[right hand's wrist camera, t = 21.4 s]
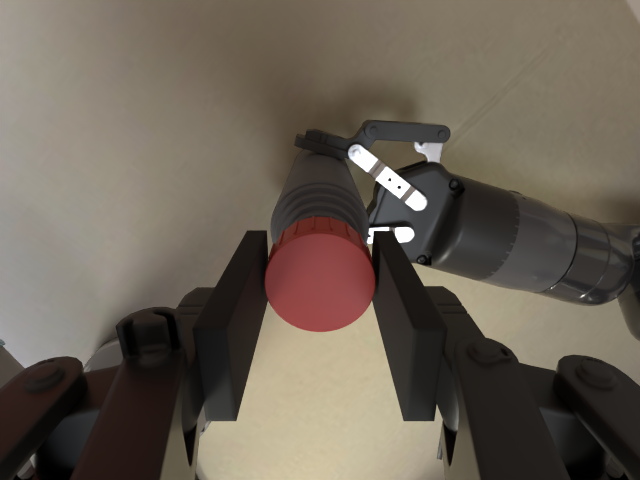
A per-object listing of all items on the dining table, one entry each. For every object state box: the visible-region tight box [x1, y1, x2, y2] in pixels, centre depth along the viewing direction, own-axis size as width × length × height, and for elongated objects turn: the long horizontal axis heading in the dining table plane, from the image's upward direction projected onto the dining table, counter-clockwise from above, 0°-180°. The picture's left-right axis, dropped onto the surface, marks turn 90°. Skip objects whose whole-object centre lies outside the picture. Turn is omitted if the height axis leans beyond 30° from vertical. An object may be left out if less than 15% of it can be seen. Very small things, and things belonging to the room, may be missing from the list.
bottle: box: [271, 149, 369, 246], centre depth 24 cm, size 5×5×22 cm
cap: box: [264, 216, 376, 332], centre depth 14 cm, size 4×4×2 cm
